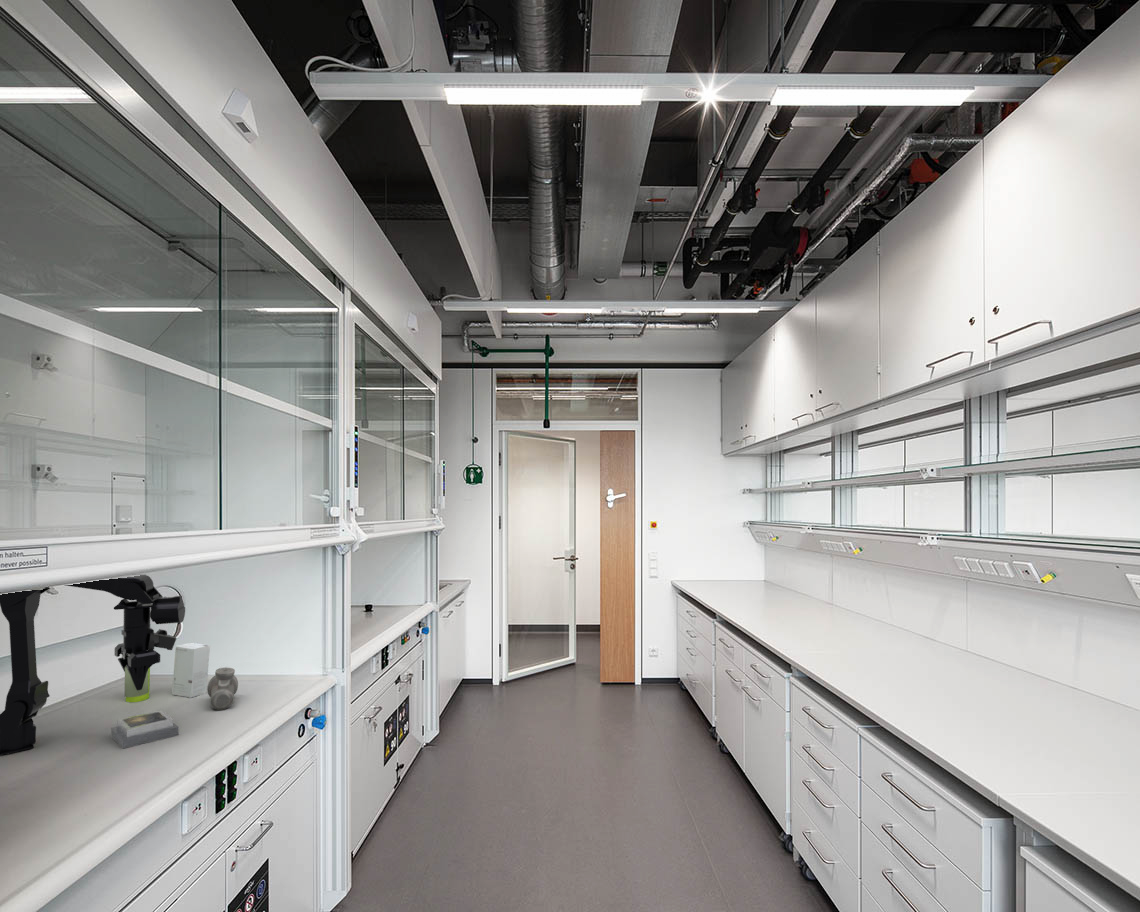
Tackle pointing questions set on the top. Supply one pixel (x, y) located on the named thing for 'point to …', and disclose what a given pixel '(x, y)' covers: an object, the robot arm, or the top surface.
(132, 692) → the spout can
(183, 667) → the skincare box
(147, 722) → the grey square holder
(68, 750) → the top surface
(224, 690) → the pipe fitting
